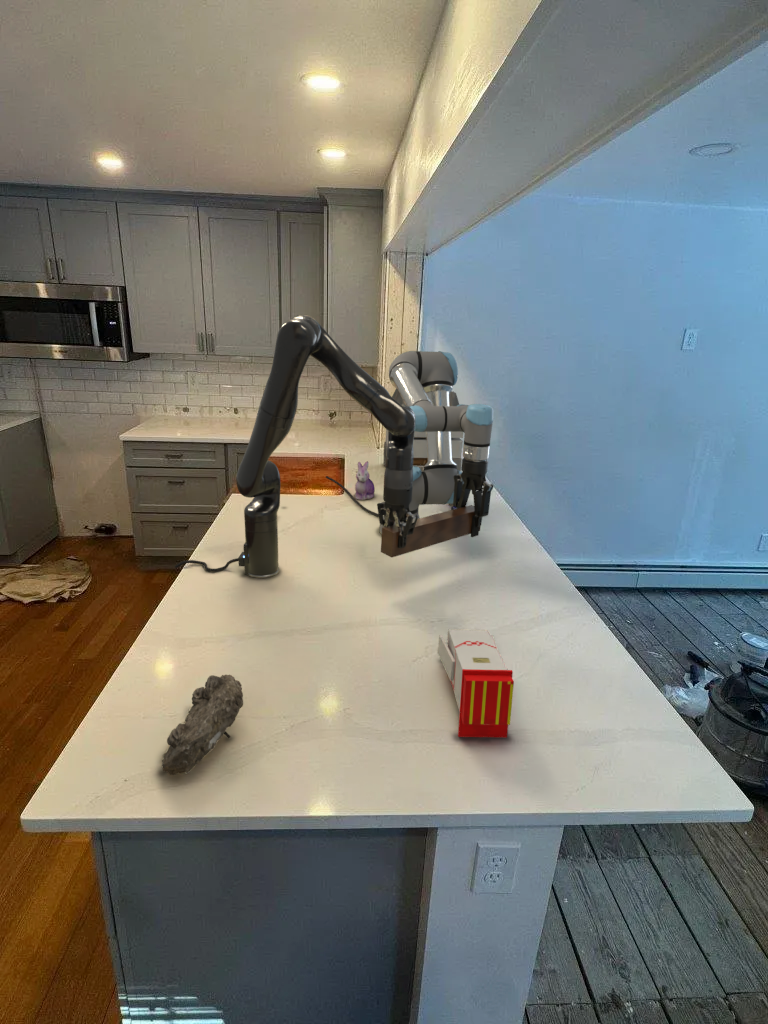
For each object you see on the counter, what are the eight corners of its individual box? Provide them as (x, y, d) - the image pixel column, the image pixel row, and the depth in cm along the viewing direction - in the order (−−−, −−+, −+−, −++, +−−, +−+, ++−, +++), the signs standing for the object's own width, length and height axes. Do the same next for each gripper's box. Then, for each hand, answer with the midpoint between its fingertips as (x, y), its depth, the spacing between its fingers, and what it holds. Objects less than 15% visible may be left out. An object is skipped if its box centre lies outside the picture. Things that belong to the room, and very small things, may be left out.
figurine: (359, 501, 230) (360, 466, 225) (349, 494, 239) (349, 459, 234) (379, 499, 235) (381, 464, 230) (369, 491, 243) (370, 458, 238)
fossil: (189, 675, 113) (243, 642, 108) (223, 706, 116) (276, 676, 111) (136, 768, 93) (198, 733, 88) (177, 802, 96) (240, 771, 91)
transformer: (382, 463, 289) (386, 382, 275) (445, 464, 293) (451, 384, 279) (390, 482, 257) (394, 392, 243) (460, 483, 261) (468, 394, 247)
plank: (391, 557, 150) (393, 533, 147) (380, 552, 153) (382, 527, 151) (480, 530, 172) (482, 509, 170) (469, 526, 176) (471, 504, 173)
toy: (488, 613, 130) (523, 677, 101) (484, 667, 133) (517, 744, 104) (435, 612, 130) (455, 676, 101) (432, 666, 133) (451, 743, 103)
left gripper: (369, 479, 149) (367, 539, 155) (406, 493, 139) (402, 557, 145) (391, 475, 154) (388, 533, 160) (428, 488, 144) (423, 550, 150)
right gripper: (444, 454, 168) (438, 527, 176) (490, 467, 156) (482, 545, 164) (461, 450, 173) (454, 522, 181) (507, 463, 161) (498, 539, 169)
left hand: (395, 544), depth 152 cm, fingers closed on plank, 4 cm apart
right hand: (467, 533), depth 172 cm, fingers closed on plank, 4 cm apart
